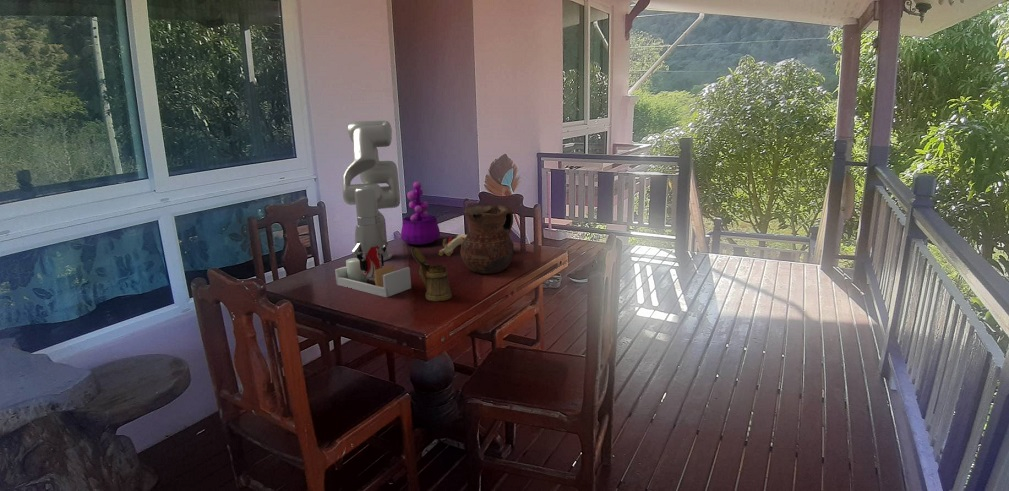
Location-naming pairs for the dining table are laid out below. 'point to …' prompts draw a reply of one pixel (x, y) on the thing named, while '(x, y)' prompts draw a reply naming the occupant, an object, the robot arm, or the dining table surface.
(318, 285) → the dining table surface
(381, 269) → the plate
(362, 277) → the sage jar
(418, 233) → the decorative plant
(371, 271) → the soda can
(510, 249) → the jug
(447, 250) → the cream bone
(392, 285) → the pusher lane
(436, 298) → the wooden mug
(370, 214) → the robot arm
